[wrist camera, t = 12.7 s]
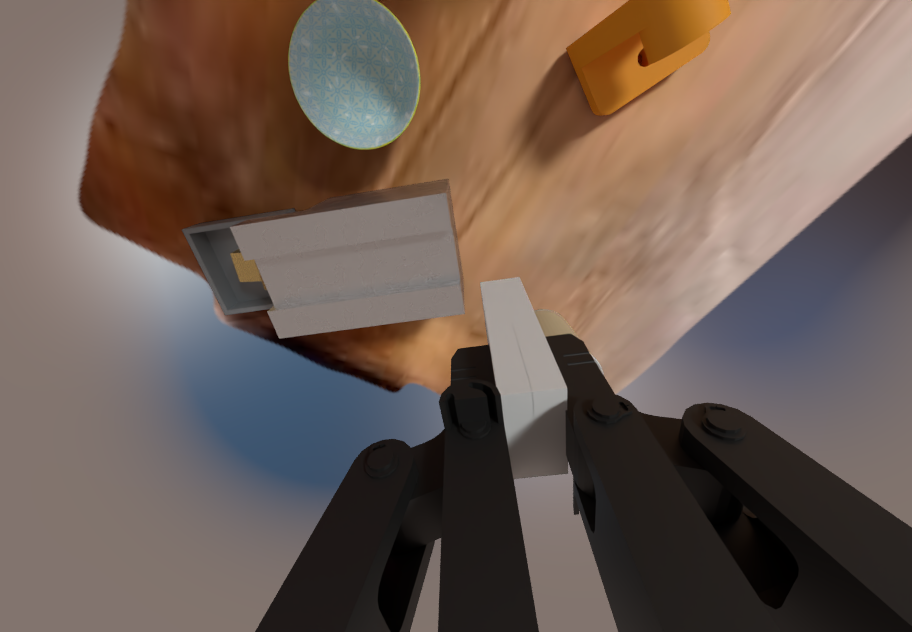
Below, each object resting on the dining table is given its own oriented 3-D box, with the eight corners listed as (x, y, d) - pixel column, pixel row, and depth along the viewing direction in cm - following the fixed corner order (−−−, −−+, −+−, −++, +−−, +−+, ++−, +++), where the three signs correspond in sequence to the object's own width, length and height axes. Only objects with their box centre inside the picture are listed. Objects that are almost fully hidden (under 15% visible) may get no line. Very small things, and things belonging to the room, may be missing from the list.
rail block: (280, 205, 42) (229, 227, 32) (448, 178, 40) (445, 192, 31) (314, 297, 47) (279, 338, 38) (463, 276, 46) (464, 313, 36)
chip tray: (198, 223, 43) (181, 229, 40) (294, 208, 42) (283, 213, 39) (238, 304, 48) (224, 315, 45) (323, 292, 47) (315, 302, 44)
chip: (274, 243, 43) (246, 244, 43) (260, 252, 40) (230, 253, 40) (282, 270, 45) (255, 271, 45) (269, 280, 42) (239, 282, 42)
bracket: (593, 120, 38) (647, 115, 27) (563, 50, 35) (610, 13, 24) (695, 51, 35) (800, 15, 24) (671, -31, 32) (778, -112, 21)
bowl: (346, 163, 40) (328, 168, 34) (291, 42, 35) (260, 25, 29) (441, 125, 38) (439, 123, 32) (398, -8, 33) (386, -37, 27)
